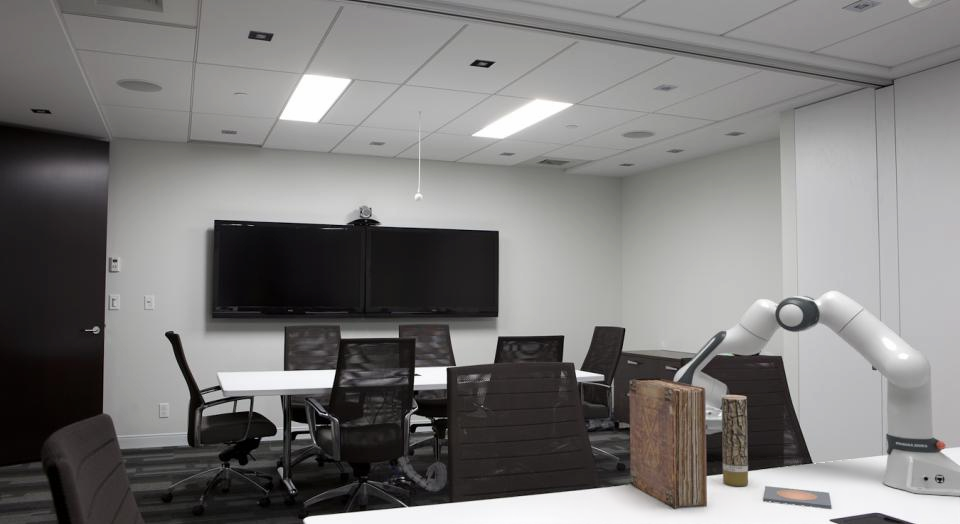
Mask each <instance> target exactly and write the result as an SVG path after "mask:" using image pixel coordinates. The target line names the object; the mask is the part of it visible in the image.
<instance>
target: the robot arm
mask: <svg viewBox="0 0 960 524" xmlns="http://www.w3.org/2000/svg"><path fill="white" fill-rule="evenodd" d="M818 324H820V325H821V324H822V325H824V326H826V327H827V328H829V330H831V331H833V332H834V333H835V334H836V335H837V336H838V337H839V338H841V339H842V340H843V341H844V342H845V343H847V344H848V345H849V346H850V347H851V348H852V349H854V350H855V351H856V352H857V353H859V354H860V355H861V356H862V357H863V358H864V359H865V361H867V362H868V363H869V364H870V365H871V366H872V367H873V368H874V369H875V370H877V371H878V373H880V374H881V375H882V376H884V377H885V378H886V379H887V381H886V382H887V383H886V385H887V386H886V387H887V390H886V391H887V393H886V394H887V395H886V396H887V397H886V398H887V399H886V411H887V412H886V417H887V418H886V419H887V420H886V421H887V433H886V437H885V451H886V454H887V459H886V468H885V471H884V472H885V473H884V477H883V479H882V484H884V485H886V486H889V487H892V488H895V489H899V490H902V491H903V490H904V491H907V492H909V493H914V494H920V495H922V494H923V495H939V496H940V495H941V496H953V497H954V496H955V497H956V496H957V497H960V465H959V464H958V463H957V462H955V461H954V460H952V459H951V458H950V457H949V456H948V455H946V454H945V453H943V452H942V451H943V450H944V449H946V448H947V447H946V443H944V441H942V440H939V439H938V438H937V439H936V438H935V437H934V435H933V411H932V410H933V408H932V406H933V404H932V374H931V372H932V371H931V370H932V369H931V367H932V366H931V362H930V360H929V358H928V357H927V355H925V354H924V353H923V352H921V351H919V350H917V349H914V347H912V345H909V344H908V343H907V342H906V341H905V340H904V339H903V338H901V337H900V336H899V335H898V334H897V333H895V331H894V330H892V329H891V328H890V327H888V325H886V324H885V323H883V321H882V320H880V319H879V318H877V316H875V315H873V313H871V312H870V311H869V310H868V309H866V308H865V307H864V306H862V305H861V304H860V303H858V302H857V301H856V300H854V299H852V298H851V297H850V296H847V295H846V294H844V293H842V292H840V291H839V290H838V291H837V290H830V291H827V292H825V293H823V294H821V296H819V298H817V299H815V298H812V297H811V296H807V295H793V296H790V297H786V298H785V299H783V300H781V302H779V303H776V302H775V301H773V300H771V299H767V298H760V299H757V300H755V301H754V303H752V305H750V306H749V307H748V308H747V310H746V311H745V312H744V313H743V315H742V316H741V317H740V318H739V320H738V322H736V324H735V325H734V326H732V327H730V328H729V329H726V330H722V331H718V332H717V333H715V334H714V335H713V337H710V339H709V340H708V341H707V342H706V343H705V344H704V345H703V346H702V348H701V347H700V349H699V350H698V351H697V352H696V353H695V354H694V356H692V357H691V359H690V360H689V361H688V362H687V363H685V364H684V365H683V366H682V367H680V368H679V369H678V371H676V373H675V375H674V377H673V380H672V381H674V382H679V383H684V384H689V385H694V386H699V387H704V388H705V401H706V435H712V434H717V433H721V432H722V395H730V391H729V388H728V386H727V384H726V383H724V382H722V381H720V380H719V379H716V378H713V377H712V376H710V375H709V374H707V373H704V372H702V371H701V370H703V369H704V368H705V367H706V366H707V364H709V362H711V361H712V360H713V358H715V357H716V356H718V355H721V354H732V355H740V356H752V355H757V354H758V353H760V352H761V351H762V350H763V349H764V348H766V346H767V345H768V342H769V341H771V338H772V337H773V336H774V334H775V333H776V332H777V330H779V329H780V328H782V329H783V330H785V331H788V332H792V333H799V332H805V331H808V330H810V329H812V328H813V327H815V326H816V325H818Z"/></svg>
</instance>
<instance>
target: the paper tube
mask: <svg viewBox="0 0 960 524" xmlns="http://www.w3.org/2000/svg"><path fill="white" fill-rule="evenodd" d="M721 436H722V439H721V440H722V442H721V443H722V445H721V446H722V482H723V484H724V485H728V486H732V487H746V486H747V485H748V484H749V456H748V452H749V451H748V449H749V447H748V445H749V444H748V400H747V396H745V395H738V394H729V395H722V435H721Z"/></svg>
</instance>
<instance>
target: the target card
mask: <svg viewBox="0 0 960 524" xmlns="http://www.w3.org/2000/svg"><path fill="white" fill-rule="evenodd" d="M762 500H763V502H765V501H771V502H770V503H774V502H780V503H779V504H783V503H787V504H786V505H792V504H795V506H801V505H804V506H803V507H810V506H812V507H811V508H818V507H820V509H827V510H828V509H830V510H832V501H831V496H830V492H828V491H827V492H826V491H818V490H817V491H816V490H806V489H798V488H789V487H778V486H777V487H776V486H768V485H765V486H764V491H763V497H762Z"/></svg>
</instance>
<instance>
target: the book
mask: <svg viewBox="0 0 960 524" xmlns="http://www.w3.org/2000/svg"><path fill="white" fill-rule="evenodd" d="M628 382H629V383H628V384H629V386H628V387H629V388H628V390H629V393H628V394H629V396H628V397H629V402H628V403H629V466H630V467H629V468H630V469H629V470H630V471H629V473H630V475H629V477H630V485H631V486H633V487H635V488H636V489H638V490H640V491H641V492H643V493H645V494H647V495H648V496H649V497H652V498H654V499H656V500H658V501H659V502H661V503H662V504H664V505H666V506H667V507H670V508H671V509H672V510H676V509H677V507H687V506H692V507H693V506H702V505H703V506H702V507H704V506H705V507H704V508H706V507H707V506H708V500H707V499H708V496H707V495H708V494H707V493H708V489H707V486H708V484H707V482H708V480H707V434H706V401H705V388H704V387H699V386H694V385H689V384H684V383H679V382H674V381H673V380H667V379H663V378H659V377H657V378H630V379H629V380H628Z"/></svg>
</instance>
